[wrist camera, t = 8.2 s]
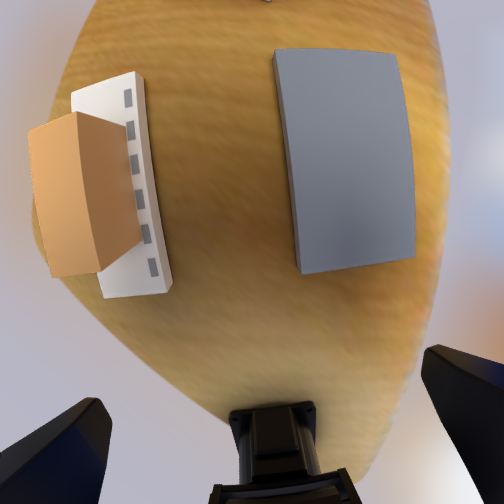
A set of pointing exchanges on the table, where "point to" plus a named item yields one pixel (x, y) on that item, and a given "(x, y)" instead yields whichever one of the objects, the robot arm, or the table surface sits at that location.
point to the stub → (101, 191)
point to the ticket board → (346, 157)
